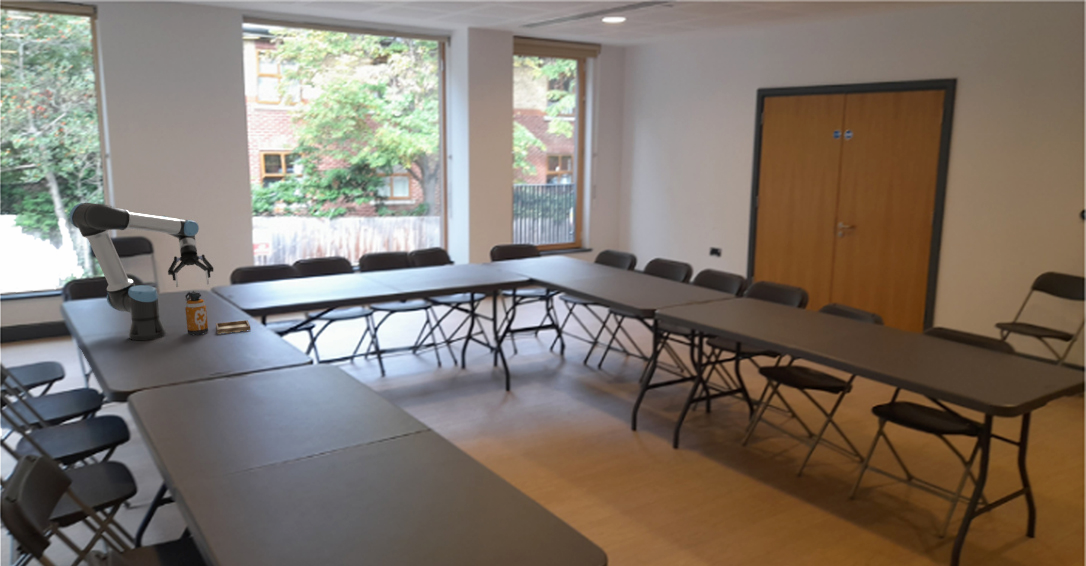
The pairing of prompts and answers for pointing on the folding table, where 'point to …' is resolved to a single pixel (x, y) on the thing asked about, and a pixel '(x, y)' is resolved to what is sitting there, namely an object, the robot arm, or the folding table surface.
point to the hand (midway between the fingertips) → (192, 284)
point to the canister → (196, 314)
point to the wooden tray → (232, 326)
